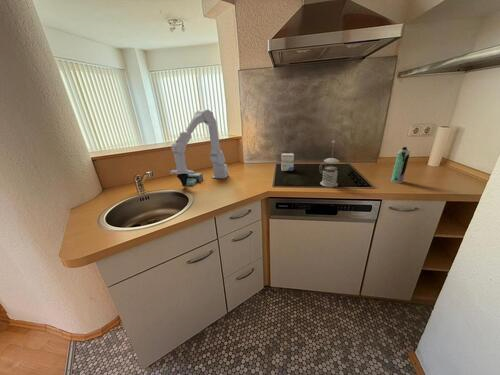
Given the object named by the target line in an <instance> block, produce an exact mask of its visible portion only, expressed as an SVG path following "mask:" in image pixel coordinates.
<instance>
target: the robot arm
mask: <svg viewBox="0 0 500 375" xmlns="http://www.w3.org/2000/svg"><path fill="white" fill-rule="evenodd" d="M203 123H204V124H205V125H207V128H208V133H209V141H210V147H211V151H210V156H209V160H210V162H211V163H212V170H213V176H212V177H211V178H212V179H226V178H227V177H228V176H229V170H228V168H229V167H228V164H227V163H225V162H226V157H225V155H224V152H223V151H222V149H221V146H220V139H219V132H218V122H217V120H216V118H215V116H214V113H213V112H212V111H211V110H210V109H198V110H196V111H195V113H194V114H193V116H192V119H191V121H190V122H189V124H188V125H187V127H186V129H185V130H183V131H181V132H180V133H179V136H178V138H177V139H176V140H175V142H174V143H172V144H171V148H170V150H171V152H172V153H173V156H174V161H175V167H176V168H175V169H172V170H170V171H169V172H170V175H176V177H177V178H178V180H179V181H180V183H181V185H182V186H183V187H187V186H186V184H187V178H188V175H189V174H191V175H194V174H195V173H196V172H195V170H189V169H188V167H187V162H186V154H185V152H186V149H187V145H188V143H189V142H190V141H191V139H192V133H193V132H194V131H195V129H197V127H198V125H200V124H203Z"/></svg>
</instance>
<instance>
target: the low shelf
mask: <svg viewBox="0 0 500 375" xmlns="http://www.w3.org/2000/svg"><path fill="white" fill-rule="evenodd" d="M194 173H195V174H194V175H191V174H189V175H188V178H187V179H196V180H197V181H198V183H200V182H202V181H203V180H204V176H203V173H202V172H194Z"/></svg>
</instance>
